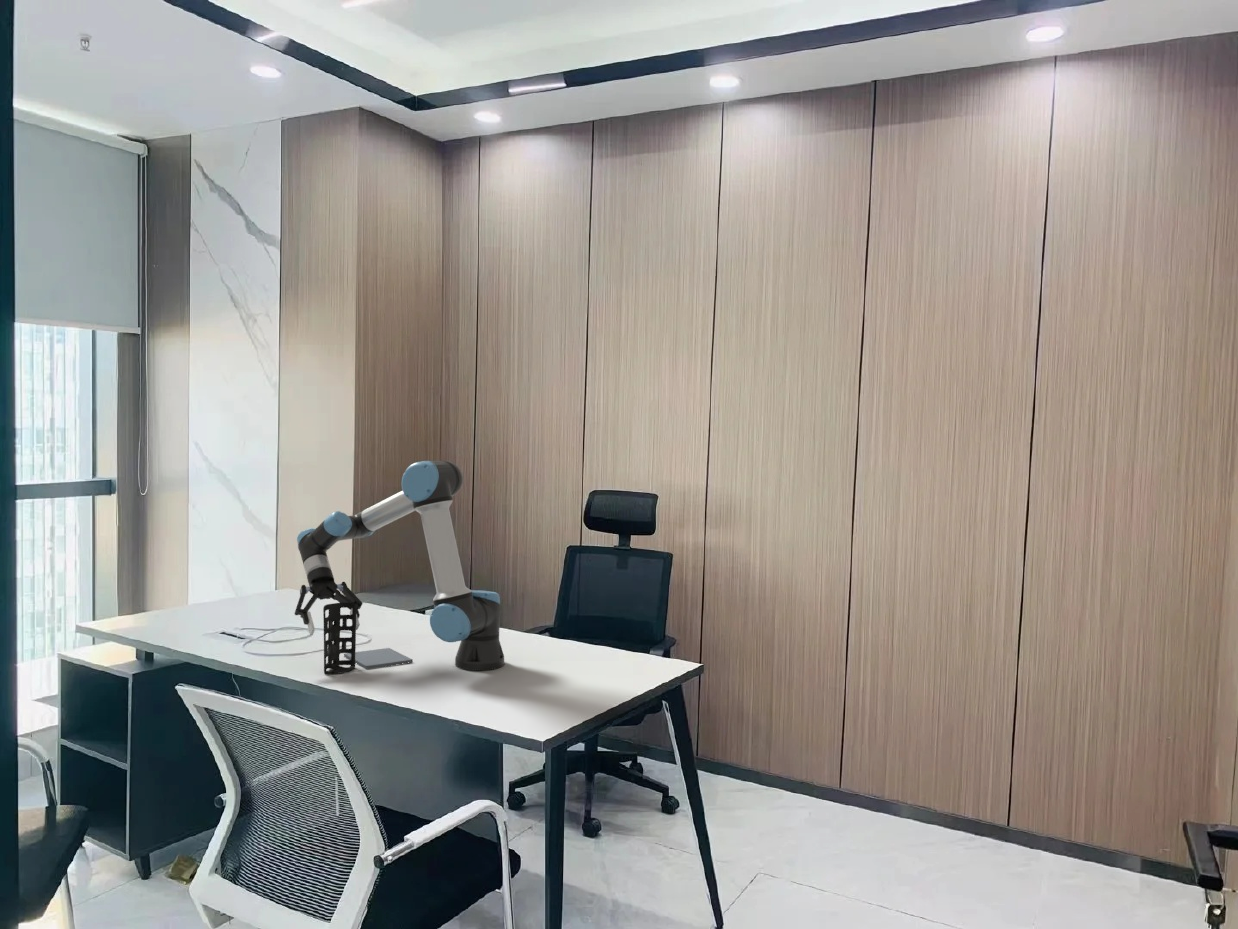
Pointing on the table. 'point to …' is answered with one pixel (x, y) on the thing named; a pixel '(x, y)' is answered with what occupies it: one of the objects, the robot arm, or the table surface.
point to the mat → (378, 658)
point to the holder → (338, 637)
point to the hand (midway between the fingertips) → (335, 630)
